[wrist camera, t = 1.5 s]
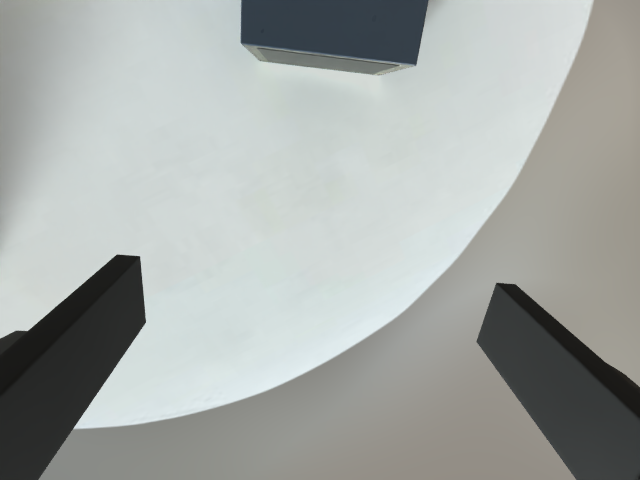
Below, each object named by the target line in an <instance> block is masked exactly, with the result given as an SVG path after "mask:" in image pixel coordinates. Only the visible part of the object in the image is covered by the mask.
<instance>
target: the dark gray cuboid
mask: <svg viewBox="0 0 640 480" xmlns="http://www.w3.org/2000/svg"><path fill="white" fill-rule="evenodd" d="M427 5H428V0H241V44H242V45H243V46H244V47H245V48H246V49H247V50H249V51H250V52H251V53H252V54H253V55H254V56H255V57H256V58H257V59H258V60H260V61H263V62H272V63H280V64H288V65H297V66H305V67H313V68H322V69H330V70H338V71H346V72H355V73H363V74H371V75H382V74H386V73H390V72H394V71H397V70H401V69H405V68H409V67H412V66H416V64H417V59H418V53H419V48H420V43H421V37H422V32H423V27H424V21H425V16H426V10H427Z"/></svg>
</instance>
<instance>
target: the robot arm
mask: <svg viewBox="0 0 640 480" xmlns="http://www.w3.org/2000/svg"><path fill="white" fill-rule="evenodd" d="M145 323H146V318H145V307H144V295H143V284H142V273H141V262H140V256H129V255H116V256H115V257H114V258H113V259H111V260H110V261H109V262H108V263H107V264H106V265H104V266H103V267H102V268H101V269H100V270H99V271H97V272H96V273H95V274H94V275H93V276H92V277H90V278H89V279H88V280H87V281H86V282H85V283H83V284H82V285H81V286H80V287H79V288H78V289H76V290H75V291H74V292H73V293H72V294H71V295H69V296H68V297H67V298H66V299H65V300H64V301H62V302H61V303H60V304H59V305H58V306H57V307H55V308H54V309H53V310H52V311H51V312H50V313H49V314H47V315H46V316H45V317H44V318H43V319H42V320H40V321H39V322H38V323H37V324H36V325H35V326H33V327H32V328H31V329H30V330H29V331H15V332H13V333H11V334H9V335H7V336H5V337H3V338H1V339H0V480H38V479H39V478H40V476H41V475H42V473H43V472H44V470H45V469H46V467H47V466H48V465H49V463H50V461H51V460H52V459H53V457H54V456H55V454H56V453H57V451H58V450H59V449H60V447H61V446H62V444H63V443H64V441H65V440H66V438H67V437H68V435H69V434H70V432H71V431H72V430H73V428H74V427H75V425H76V424H77V422H78V421H79V419H80V418H81V416H82V415H83V413H84V412H85V411H86V409H87V408H88V406H89V405H90V403H91V402H92V400H93V399H94V397H95V396H96V395H97V393H98V392H99V390H100V389H101V387H102V386H103V384H104V383H105V381H106V380H107V378H108V377H109V376H110V374H111V373H112V371H113V370H114V368H115V367H116V365H117V364H118V362H119V361H120V359H121V358H122V357H123V355H124V354H125V352H126V351H127V349H128V348H129V346H130V345H131V343H132V342H133V341H134V339H135V338H136V336H137V335H138V333H139V332H140V330H141V329H142V327H143V326H144V324H145ZM477 343H478V344H479V346H480V347H481V348H482V350H483V351H484V352H485V354H486V355H487V357H488V358H489V359H490V361H491V362H492V364H493V365H494V366H495V368H496V369H497V371H498V372H499V373H500V375H501V376H502V377H503V379H504V380H505V382H506V383H507V384H508V386H509V387H510V389H511V390H512V391H513V393H514V394H515V395H516V397H517V398H518V400H519V401H520V402H521V404H522V405H523V406H524V408H525V409H526V411H527V412H528V413H529V415H530V416H531V418H532V419H533V420H534V422H535V423H536V424H537V426H538V427H539V429H540V430H541V431H542V433H543V434H544V435H545V437H546V438H547V440H548V441H549V442H550V444H551V445H552V446H553V448H554V449H555V451H556V452H557V454H558V455H559V456H560V458H561V459H562V460H563V462H564V463H565V464H566V466H567V467H568V469H569V470H570V471H571V473H572V474H573V475H574V477H575V478H576V480H640V387H639V386H638V385H636V384H635V383H634V382H633V381H632V380H630V378H628V377H627V376H626V375H625V374H623V373H622V372H620V371H618V370H617V369H615V368H614V367H612V366H610V365H609V364H607V363H605V362H604V361H603V360H602V359H601V358H599V357H598V356H597V355H596V354H595V353H594V352H593V351H592V350H590V349H589V348H588V347H587V346H586V345H585V344H583V343H582V342H581V341H580V340H579V339H578V338H577V337H575V336H574V335H573V334H572V333H571V332H570V331H568V330H567V329H566V328H565V327H564V326H563V325H562V324H560V323H559V322H558V321H557V320H556V319H554V318H553V317H552V316H551V315H550V314H549V313H548V312H546V311H545V310H544V309H543V308H542V307H541V306H539V305H538V304H537V303H536V302H535V301H534V300H533V299H532V298H530V297H529V296H528V295H527V294H526V293H525V292H523V291H522V290H521V289H520V288H519V287H518V286H517V285H515V284H504V283H496V286H495V289H494V291H493V295H492V297H491V300H490V303H489V306H488V309H487V312H486V315H485V318H484V321H483V324H482V327H481V330H480V333H479V336H478V339H477Z"/></svg>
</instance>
